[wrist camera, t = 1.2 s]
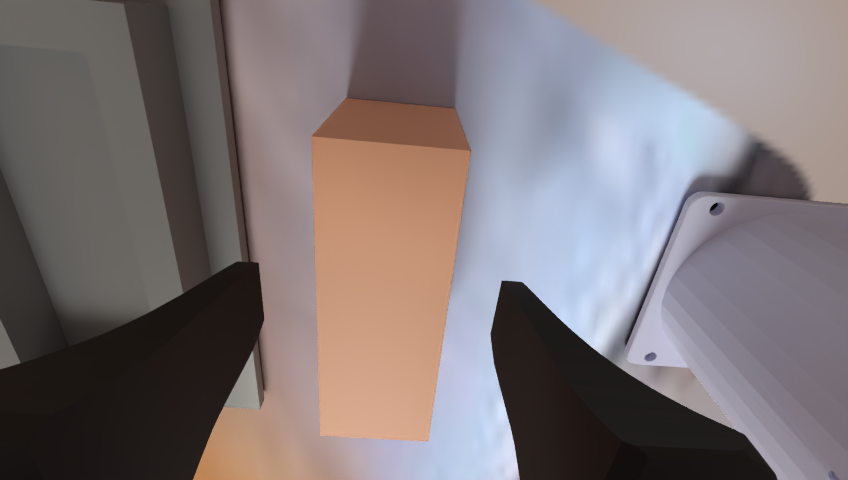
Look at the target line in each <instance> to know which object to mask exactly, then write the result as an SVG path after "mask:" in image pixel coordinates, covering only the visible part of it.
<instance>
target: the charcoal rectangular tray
mask: <svg viewBox="0 0 848 480" xmlns="http://www.w3.org/2000/svg"><path fill="white" fill-rule="evenodd" d="M237 261H240V262H249V261H248V252H247V244H246V235H245V226H244V217H243V209H242V200H241V191H240V182H239V174H238V165H237V156H236V147H235V139H234V130H233V121H232V112H231V104H230V95H229V86H228V77H227V69H226V60H225V51H224V42H223V34H222V25H221V16H220V7H219V0H0V369H3V368H6V367H10V366H13V365H16V364H20V363H23V362H26V361H29V360H33V359H36V358H39V357H42V356H45V355H48V354H51V353H54V352H57V351H59V350H62V349H65V348H67V347H70V346H72V345H75V344H78V343H80V342H83V341H86V340H88V339H91V338H93V337H96V336H99V335H101V334H104V333H106V332H108V331H111V330H113V329H115V328H117V327H119V326H122V325H124V324H126V323H128V322H130V321H132V320H135V319H137V318H139V317H141V316H143V315H145V314H147V313H149V312H150V311H152V310H154V309H156V308H158V307H160V306H161V305H163V304H165V303H167V302H169V301H171V300H172V299H174V298H176V297H178V296H180V295H181V294H183V293H185V292H186V291H188V290H190V289H191V288H193V287H195V286H196V285H198V284H200V283H201V282H203V281H205V280H206V279H208V278H210V277H211V276H213V275H214V274H216V273H218V272H219V271H221V270H223V269H224V268H226V267H228V266H229V265H231V264H233V263H235V262H237ZM263 401H264V392H263V384H262V375H261V366H260V357H259V349H258V340H257V341H256V344H255V347H254V349H253V351H252V353H251V355H250V357H249V359H248V361H247V363H246V365H245V367H244V369H243V371H242V373H241V374H240V376H239V378H238V380H237V382H236V384H235V386H234V388H233V390H232V392H231V393H230V395H229V397H228V399H227V401H226V403H225V405H224V407H232V408H249V409H260V408H261V405H262V403H263Z"/></svg>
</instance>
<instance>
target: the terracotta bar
mask: <svg viewBox="0 0 848 480" xmlns="http://www.w3.org/2000/svg"><path fill="white" fill-rule="evenodd" d="M470 153H471V150H470V147H469V144H468V142H467V139H466V136H465V134H464V131H463V128H462V125H461V123H460V120H459V117H458V115H457V112H456V109H455V108H445V107H435V106H424V105H414V104H403V103H393V102H382V101H372V100H361V99H350V98H346V99H345V100H344V101H343V102H342V103H341V104H340V105H339V107H338V108H337V109H336V110H335V111H334V112H333V113H332V114H331V115H330V117H329V118H328V119H327V120H326V121H325V122H324V123H323V124H322V125H321V126H320V128H319V129H318V130H317V131H316V132H315V133H314V134H313V135H312V170H313V204H314V237H315V271H316V305H317V338H318V372H319V406H320V436H338V437H356V438H374V439H392V440H410V441H428V439H429V433H430V426H431V419H432V412H433V405H434V399H435V392H436V385H437V378H438V371H439V365H440V358H441V351H442V344H443V337H444V330H445V324H446V317H447V310H448V303H449V296H450V290H451V283H452V276H453V269H454V262H455V256H456V249H457V242H458V235H459V228H460V222H461V215H462V208H463V201H464V194H465V187H466V181H467V174H468V167H469V160H470Z"/></svg>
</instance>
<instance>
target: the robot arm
mask: <svg viewBox="0 0 848 480" xmlns="http://www.w3.org/2000/svg"><path fill="white" fill-rule="evenodd" d="M715 203H718V205H717V207H716V208H715V209H714V210H712V211H710V208H711V206H712V205H713V204H715ZM263 321H264V312H263V302H262V292H261V283H260V273H259V263H254V262H240V261H237V262H235V263H233V264H231V265H229V266H228V267H226V268H224V269H223V270H221V271H219V272H218V273H216V274H214V275H213V276H211V277H210V278H208V279H206V280H205V281H203V282H201V283H200V284H198V285H196V286H195V287H193V288H191V289H190V290H188V291H186V292H185V293H183V294H181V295H180V296H178V297H176V298H174V299H172V300H171V301H169V302H167V303H165V304H163V305H161V306H160V307H158V308H156V309H154V310H152V311H150V312H149V313H147V314H145V315H143V316H141V317H139V318H137V319H135V320H132V321H130V322H128V323H126V324H124V325H122V326H119V327H117V328H115V329H113V330H111V331H108V332H106V333H104V334H101V335H99V336H96V337H93V338H91V339H88V340H86V341H83V342H80V343H78V344H75V345H72V346H70V347H67V348H65V349H62V350H59V351H57V352H54V353H51V354H48V355H45V356H42V357H39V358H36V359H33V360H29V361H26V362H23V363H20V364H16V365H13V366H10V367H6V368H3V369H0V480H193V478H194V475H195V473H196V470H197V467H198V465H199V462H200V459H201V457H202V454H203V452H204V449H205V447H206V444H207V442H208V439H209V437H210V434H211V432H212V429H213V427H214V425H215V423H216V421H217V419H218V417H219V414H220V412H221V411H222V409H223V407H224V405H225V403H226V401H227V399H228V397H229V395H230V393H231V392H232V390H233V388H234V386H235V384H236V382H237V380H238V378H239V376H240V374H241V373H242V371H243V369H244V367H245V365H246V363H247V361H248V359H249V357H250V355H251V353H252V351H253V349H254V347H255V344H256V341H257V339H258V336H259V333H260V330H261V327H262V324H263ZM491 342H492V351H493V358H494V365H495V369H496V373H497V377H498V381H499V385H500V388H501V392H502V396H503V400H504V404H505V407H506V411H507V415H508V419H509V423H510V426H511V430H512V435H513V440H514V444H515V450H516V457H517V463H518V470H519V476H520V480H848V204H840V203H830V202H819V201H808V200H796V199H785V198H774V197H763V196H751V195H740V194H729V193H717V192H706V191H701V192H696V193H694V194H692V195H691V196H690V197H689V198H688V199H687V200H686V202H685V204H684V206H683V208H682V211H681V213H680V216H679V218H678V221H677V223H676V226H675V228H674V231H673V233H672V235H671V238H670V240H669V243H668V245H667V248H666V250H665V253H664V255H663V257H662V260H661V262H660V265H659V267H658V270H657V272H656V275H655V277H654V279H653V282H652V284H651V287H650V289H649V292H648V294H647V297H646V299H645V302H644V304H643V306H642V309H641V311H640V314H639V316H638V319H637V321H636V324H635V326H634V328H633V331H632V333H631V336H630V338H629V341H628V343H627V346H626V348H625V352H624V354H625V356H626V358H627V359H628V361H629V362H630V363H633V364H642V365H657V366H672V367H686V368H690V369H691V371H692V372H693V373H694V375H695V376H696V377H697V379H698V380H699V381H700V383H701V384H702V385H703V387H704V388H705V389H706V390H707V392H708V393H709V394H710V396H711V397H712V398H713V400H714V401H715V402H716V404H717V405H718V406H719V408H720V409H721V410H722V412H723V413H724V414H725V415H726V417H727V418H728V419H729V421H730V422H731V423H732V424H733V426H734V427H735V428H736V430H737V431H736V430H734V429H731V428H729V427H727V426H725V425H722V424H721V423H718V422H716V421H714V420H712V419H709V418H707V417H705V416H703V415H701V414H698V413H696V412H694V411H692V410H691V409H688V408H687V407H685V406H683V405H681V404H679V403H677V402H675V401H673V400H671V399H670V398H668V397H666V396H664V395H662V394H661V393H659V392H657V391H655V390H654V389H652V388H650V387H649V386H647V385H645V384H644V383H642V382H641V381H639V380H637V379H636V378H634V377H632V376H631V375H629V374H628V373H626V372H625V371H623V370H622V369H620V368H619V367H617V366H616V365H615V364H613V363H612V362H610V361H609V360H608V359H606V358H605V357H604V356H602V355H601V354H600V353H598V352H597V351H596V350H594V349H593V348H592V347H591V346H589V345H588V344H587V343H586V342H585V341H583V340H582V339H581V338H580V337H579V336H578V335H576V334H575V333H574V332H573V331H572V330H571V329H570V328H568V327H567V326H566V325H565V324H564V323H563V322H562V321H561V320H560V319H559V318H558V317H557V316H556V315H555V314H554V313H553V312H552V311H551V310H550V309H549V308H548V307H547V306H546V305H545V304H544V303H543V302H542V301H541V300H540V299H539V298H538V297H537V296H536V295H535V294H534V293H533V292H532V291H531V290H530V289H529V288H528V287H527V286H526V285H525V284H524V283H522V282H514V281H502V283H501V288H500V292H499V297H498V302H497V306H496V311H495V316H494V321H493V325H492V330H491ZM648 353H650V354H648ZM646 354H648V355H646Z"/></svg>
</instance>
